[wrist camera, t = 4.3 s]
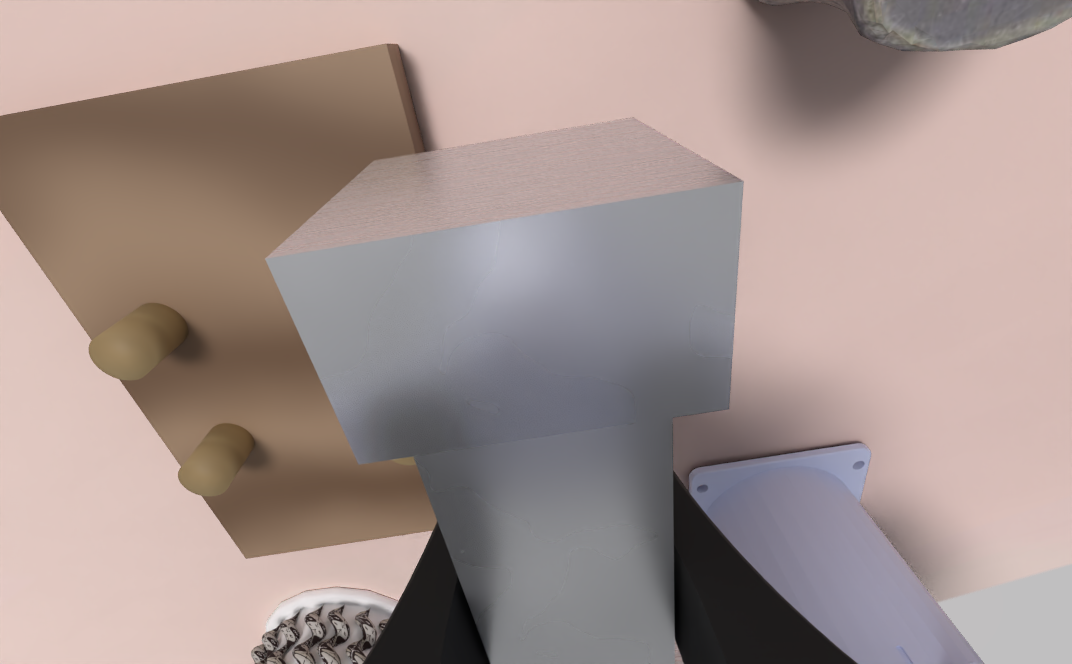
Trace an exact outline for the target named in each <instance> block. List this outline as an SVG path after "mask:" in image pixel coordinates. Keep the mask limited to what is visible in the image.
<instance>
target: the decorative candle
mask: <svg viewBox="0 0 1072 664" xmlns="http://www.w3.org/2000/svg"><path fill="white" fill-rule="evenodd" d="M397 603H398V601H397V600H394V599H391V598H389V597H386V596H383V595H380V594H378V593H375V592H372V591H369V590H361V589H351V588H342V587H332V588H324V589H317V590H310V591H304V592H302V593H300V594H298V595H296V596H293V597H291V598H289V599H287V600H285V601H283V602H281V603H280V604H279V605H278V607H277V608H276V609H275V610H274V612H273V613H272V614H271V615H270V617H269V618H268V620H267V623H266V633H265V634H264V635H263V636H262V642H263V644H262V645H260V646H257V647H255V648H254V649H253V650H252V652H251V656H252V658H253V660H254V661H255V664H362V663H363V662H364V660H365V659H366V657H367V655H368V654H369V652H370V650H371V649H372V647H373V646H374V644H375V642H376V640H377V639H378V637H379V635H380V634H381V632H382V630H383V629H384V627H385V625H386V623H387V621H388V620H389V618H390V616H391V614H392V612H393V610H394V609H395V607H396V605H397Z"/></svg>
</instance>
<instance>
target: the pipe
mask: <svg viewBox="0 0 1072 664" xmlns="http://www.w3.org/2000/svg"><path fill="white" fill-rule="evenodd" d="M759 1H760V2H762V3H765V4H769V5H784V4H791V3H797V2H804V1H809V2H821V3H826V4H829V5H832V6H834V7H837V8H839V9H842V10H844V11H845V12H847V13H848V15H849V17H850V18H851V20H852V22H853V23H854V25H855V27H856V29H857V30H858V32H859V34H860V35H861V36H863V37H865V38H867V39H870V40H872V41H874V42H876V43H878V44H882V45H885V46H888V47H891V48H895V49H898V50H901V51H954V50H975V49H997V48H999V47H1002V46H1005V45H1008V44H1011V43H1014V42H1017V41H1020V40H1023V39H1026V38H1029V37H1031V36H1034V35H1036V34H1039V33H1041V32H1044V31H1046V30H1049V29H1051V28H1053V27H1055V26H1057V25H1058V24H1060V23H1062V22H1064V21H1065V20H1067V19H1069V18H1071V17H1072V0H759Z"/></svg>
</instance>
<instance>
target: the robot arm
mask: <svg viewBox="0 0 1072 664" xmlns="http://www.w3.org/2000/svg"><path fill="white" fill-rule="evenodd" d="M870 457H871V451H870V450H869V448H868V447H867V446H866V445H865V444H862V443H856V444H849V445H843V446H836V447H829V448H823V449H816V450H810V451H803V452H797V453H790V454H784V455H777V456H770V457H764V458H757V459H751V460H744V461H738V462H731V463H725V464H718V465H711V466H705V467H699V468H696V469H694V470H693V471H692V472H691V473H690V475H689V491H688V490H687V489H686V487H685V486H684V485H683V483H682V482H681V481H680V479H679V478H678V476H677V475H676V473H675V472H674V471H673V520H674V616H675V641H676V643H677V646H678V649H679V652H680V655H681V658H682V661H683V663H684V664H984V663H983V661H982V660H981V659H980V657H979V656H978V655H977V654H976V652H975V651H974V650H973V648H972V647H971V646H970V645H969V643H968V642H967V641H966V639H965V638H964V637H963V635H962V634H961V633H960V632H959V630H958V629H957V628H956V627H955V625H954V624H953V623H952V621H951V620H950V619H949V618H948V616H947V615H946V614H945V612H944V611H943V610H942V609H941V607H940V606H939V605H938V603H937V602H936V601H935V599H934V598H933V597H932V596H931V594H930V593H929V592H928V590H927V589H926V588H925V587H924V585H923V584H922V583H921V581H920V580H919V579H918V578H917V576H916V575H915V574H914V572H913V571H912V570H911V569H910V567H909V566H908V565H907V563H906V562H905V561H904V560H903V558H902V557H901V556H900V554H899V553H898V552H897V551H896V549H895V548H894V547H893V545H892V544H891V543H890V542H889V540H888V539H887V538H886V536H885V535H884V534H883V533H882V531H881V530H880V529H879V527H878V526H877V525H876V524H875V522H874V521H873V520H872V518H871V517H870V516H869V515H868V513H867V512H866V511H865V509H864V508H863V507H862V506H861V504H860V500H861V495H862V491H863V487H864V483H865V478H866V474H867V470H868V466H869V462H870ZM700 485H702V486H700ZM362 664H491V663H490V661H489V658H488V655H487V653H486V650H485V647H484V645H483V642H482V639H481V637H480V634H479V631H478V629H477V626H476V623H475V621H474V618H473V615H472V613H471V610H470V607H469V605H468V602H467V599H466V596H465V594H464V591H463V588H462V586H461V583H460V580H459V578H458V575H457V572H456V570H455V567H454V564H453V562H452V559H451V556H450V554H449V551H448V548H447V546H446V543H445V540H444V538H443V535H442V532H441V530H440V527H439V524H438V521H437V523H436V525H435V527H434V530H433V532H432V534H431V537H430V539H429V541H428V543H427V545H426V548H425V550H424V552H423V554H422V556H421V558H420V560H419V562H418V564H417V566H416V568H415V570H414V572H413V574H412V577H411V579H410V581H409V583H408V585H407V586H406V588H405V590H404V592H403V594H402V596H401V598H400V599H399V601H398V603H397V605H396V607H395V609H394V610H393V612H392V614H391V616H390V618H389V620H388V621H387V623H386V625H385V627H384V629H383V630H382V632H381V634H380V635H379V637H378V639H377V640H376V642H375V644H374V646H373V647H372V649H371V650H370V652H369V654H368V655H367V657H366V659H365V660H364V662H363V663H362Z"/></svg>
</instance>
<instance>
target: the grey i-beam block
mask: <svg viewBox="0 0 1072 664" xmlns="http://www.w3.org/2000/svg"><path fill="white" fill-rule="evenodd" d="M742 197H743V181H742V180H741V179H739V178H737V177H735V176H734V175H732V174H730V173H729V172H727V171H725V170H723V169H722V168H720V167H718V166H717V165H715V164H713V163H711V162H710V161H708V160H706V159H704V158H703V157H701V156H699V155H698V154H696V153H694V152H692V151H691V150H689V149H687V148H686V147H684V146H682V145H680V144H679V143H677V142H675V141H673V140H672V139H670V138H668V137H667V136H665V135H663V134H661V133H660V132H658V131H656V130H654V129H653V128H651V127H649V126H648V125H646V124H644V123H642V122H641V121H639V120H637V119H636V118H634V117H632V118H626V119H620V120H614V121H608V122H602V123H596V124H590V125H584V126H578V127H572V128H566V129H560V130H554V131H548V132H542V133H536V134H530V135H524V136H518V137H512V138H506V139H500V140H494V141H488V142H482V143H476V144H470V145H464V146H458V147H452V148H446V149H440V150H434V151H428V152H422V153H416V154H410V155H404V156H398V157H392V158H386V159H380V160H374V161H373V162H372V163H370V164H369V165H368V166H367V167H366V168H365V169H364V170H363V171H362V172H360V173H359V174H358V175H357V176H356V177H355V178H354V179H353V180H352V181H351V182H349V183H348V184H347V185H346V186H345V187H344V188H343V189H342V190H341V191H339V192H338V193H337V194H336V195H335V196H334V197H333V198H332V199H331V200H329V201H328V202H327V203H326V204H325V205H324V206H323V207H322V208H321V209H319V210H318V211H317V212H316V213H315V214H314V215H313V216H312V217H311V218H310V219H308V220H307V221H306V222H305V223H304V224H303V225H302V226H301V227H300V228H298V229H297V230H296V231H295V232H294V233H293V234H292V235H291V236H290V237H288V238H287V239H286V240H285V241H284V242H283V243H282V244H281V245H280V246H278V247H277V248H276V249H275V250H274V251H273V252H272V253H271V254H270V255H269V256H267V257H266V258H265V260H266V262H267V264H268V267H269V269H270V271H271V273H272V275H273V278H274V280H275V282H276V284H277V286H278V289H279V291H280V293H281V295H282V297H283V300H284V302H285V304H286V306H287V308H288V310H289V313H290V315H291V317H292V319H293V321H294V324H295V326H296V328H297V330H298V332H299V335H300V337H301V339H302V341H303V343H304V346H305V348H306V350H307V352H308V354H309V357H310V359H311V361H312V363H313V365H314V368H315V370H316V372H317V374H318V376H319V379H320V381H321V383H322V385H323V387H324V390H325V392H326V394H327V396H328V398H329V401H330V403H331V405H332V407H333V409H334V412H335V414H336V416H337V418H338V420H339V423H340V425H341V427H342V429H343V431H344V434H345V436H346V438H347V440H348V442H349V445H350V447H351V449H352V451H353V453H354V456H355V458H356V460H357V462H358V464H359V465H360V464H366V463H373V462H380V461H386V460H393V459H400V458H407V457H414V460H415V463H416V465H417V468H418V471H419V473H420V476H421V479H422V481H423V484H424V487H425V489H426V492H427V495H428V497H429V500H430V503H431V505H432V508H433V511H434V513H435V516H436V519H437V521H438V524H439V527H440V530H441V532H442V535H443V538H444V540H445V543H446V546H447V548H448V551H449V554H450V556H451V559H452V562H453V564H454V567H455V570H456V572H457V575H458V578H459V580H460V583H461V586H462V588H463V591H464V594H465V596H466V599H467V602H468V605H469V607H470V610H471V613H472V615H473V618H474V621H475V623H476V626H477V629H478V631H479V634H480V637H481V639H482V642H483V645H484V647H485V650H486V653H487V655H488V658H489V661H490V663H491V664H684V663H683V661H682V658H681V655H680V652H679V649H678V646H677V643H676V641H675V616H674V520H673V424H672V418H674V417H680V416H687V415H694V414H700V413H707V412H714V411H720V410H727V409H729V401H730V385H731V369H732V354H733V338H734V322H735V307H736V291H737V275H738V260H739V244H740V228H741V213H742Z"/></svg>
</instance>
